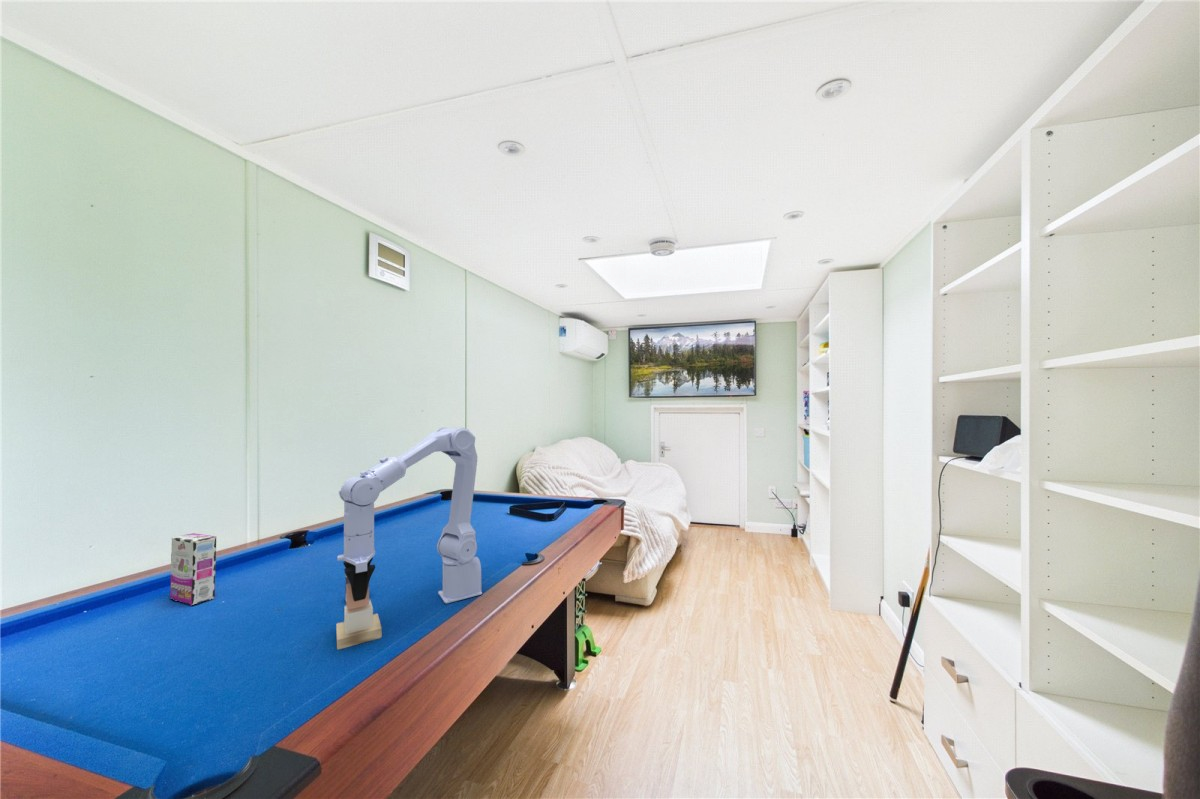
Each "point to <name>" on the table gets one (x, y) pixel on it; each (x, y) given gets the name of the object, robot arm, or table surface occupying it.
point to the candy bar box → (193, 568)
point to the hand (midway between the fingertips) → (358, 595)
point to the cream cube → (358, 618)
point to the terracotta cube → (350, 601)
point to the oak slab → (358, 634)
